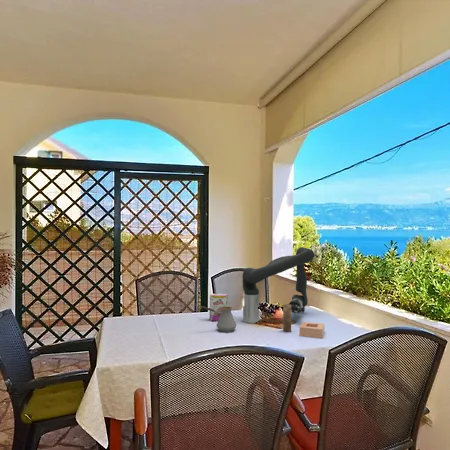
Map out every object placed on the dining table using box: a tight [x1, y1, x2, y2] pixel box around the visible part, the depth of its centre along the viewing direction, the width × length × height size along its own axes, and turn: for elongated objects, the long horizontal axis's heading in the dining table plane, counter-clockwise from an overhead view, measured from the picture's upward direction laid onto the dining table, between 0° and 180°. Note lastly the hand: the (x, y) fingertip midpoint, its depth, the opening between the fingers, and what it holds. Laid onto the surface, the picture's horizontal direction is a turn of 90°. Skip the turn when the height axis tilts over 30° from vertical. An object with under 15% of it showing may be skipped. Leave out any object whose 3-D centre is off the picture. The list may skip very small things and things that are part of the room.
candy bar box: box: [209, 293, 229, 322], centre depth 236 cm, size 11×5×16 cm, turn 84°
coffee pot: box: [199, 305, 237, 333], centre depth 214 cm, size 21×12×15 cm, turn 109°
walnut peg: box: [282, 303, 292, 333], centre depth 213 cm, size 4×4×15 cm
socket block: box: [298, 321, 325, 339], centre depth 207 cm, size 12×12×5 cm
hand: (290, 311), depth 223 cm, fingers open, 8 cm apart
